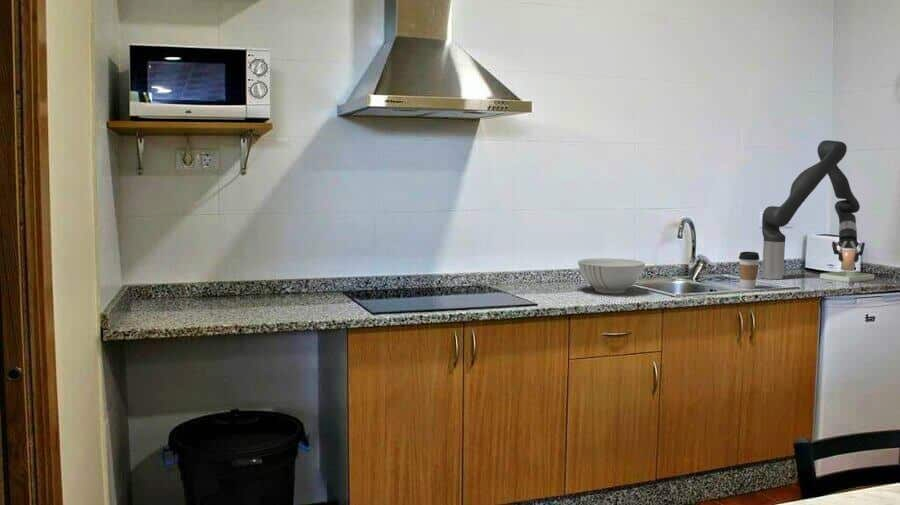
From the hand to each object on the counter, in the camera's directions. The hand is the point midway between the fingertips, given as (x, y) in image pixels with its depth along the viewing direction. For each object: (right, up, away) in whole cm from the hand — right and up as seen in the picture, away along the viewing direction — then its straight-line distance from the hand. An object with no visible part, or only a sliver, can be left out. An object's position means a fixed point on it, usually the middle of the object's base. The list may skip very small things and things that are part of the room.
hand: (848, 260), depth 356 cm
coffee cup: (-56, -11, -24) cm, 61 cm away
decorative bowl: (-117, -12, -37) cm, 123 cm away
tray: (0, -9, +3) cm, 9 cm away
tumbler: (+1, -4, +2) cm, 5 cm away
